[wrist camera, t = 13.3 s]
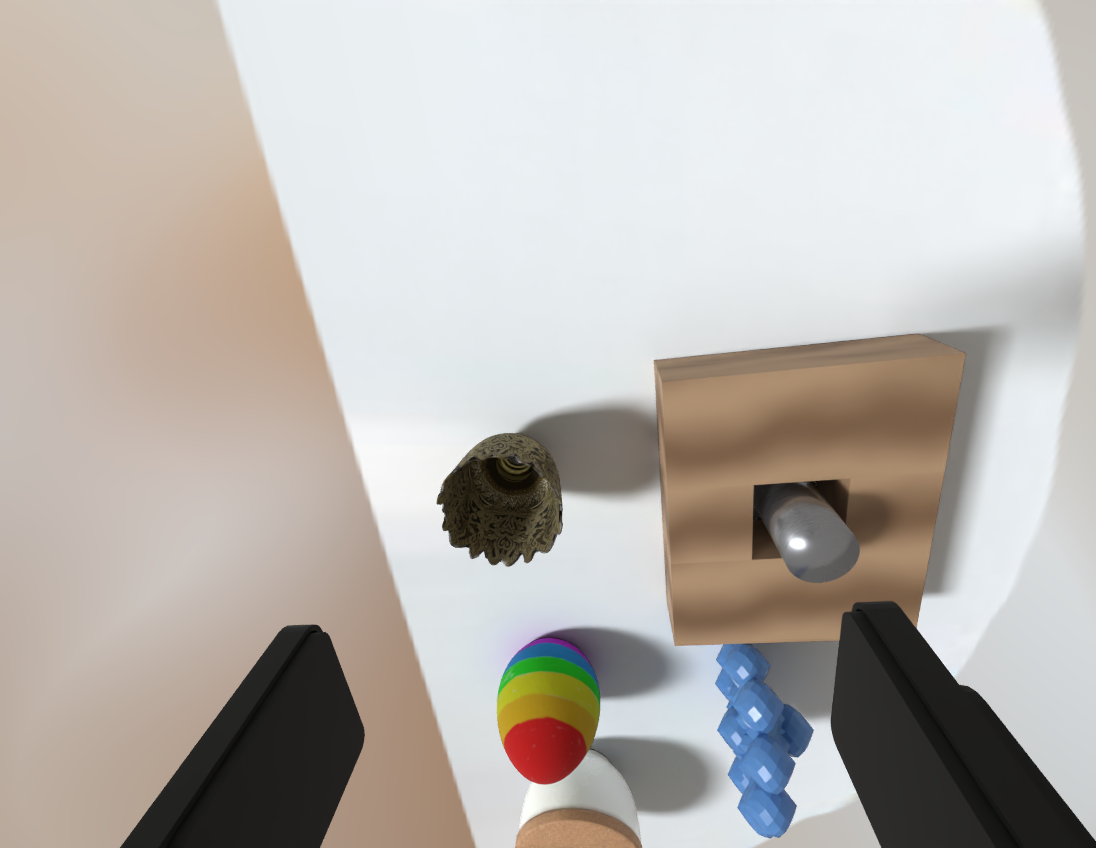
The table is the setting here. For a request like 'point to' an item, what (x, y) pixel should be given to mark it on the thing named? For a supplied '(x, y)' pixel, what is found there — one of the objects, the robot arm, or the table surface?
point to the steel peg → (806, 531)
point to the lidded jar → (581, 810)
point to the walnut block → (800, 479)
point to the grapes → (759, 739)
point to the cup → (503, 500)
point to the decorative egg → (548, 709)
